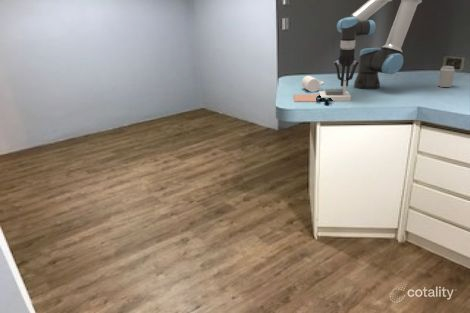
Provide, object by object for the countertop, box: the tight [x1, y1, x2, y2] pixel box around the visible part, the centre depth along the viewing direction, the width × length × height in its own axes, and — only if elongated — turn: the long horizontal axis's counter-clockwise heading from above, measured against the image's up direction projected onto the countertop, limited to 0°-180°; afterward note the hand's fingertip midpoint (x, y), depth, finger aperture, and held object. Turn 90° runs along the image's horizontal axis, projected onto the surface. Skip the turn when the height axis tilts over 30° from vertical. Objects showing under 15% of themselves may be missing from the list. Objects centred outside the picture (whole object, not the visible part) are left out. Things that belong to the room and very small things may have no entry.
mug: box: [301, 75, 325, 93], centre depth 226 cm, size 12×10×8 cm
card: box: [324, 88, 343, 95], centre depth 206 cm, size 9×6×2 cm, turn 84°
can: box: [437, 65, 456, 88], centre depth 219 cm, size 8×8×12 cm
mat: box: [293, 93, 319, 103], centre depth 210 cm, size 14×14×1 cm
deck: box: [318, 90, 352, 102], centre depth 207 cm, size 16×12×2 cm
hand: (343, 92), depth 206 cm, fingers closed
